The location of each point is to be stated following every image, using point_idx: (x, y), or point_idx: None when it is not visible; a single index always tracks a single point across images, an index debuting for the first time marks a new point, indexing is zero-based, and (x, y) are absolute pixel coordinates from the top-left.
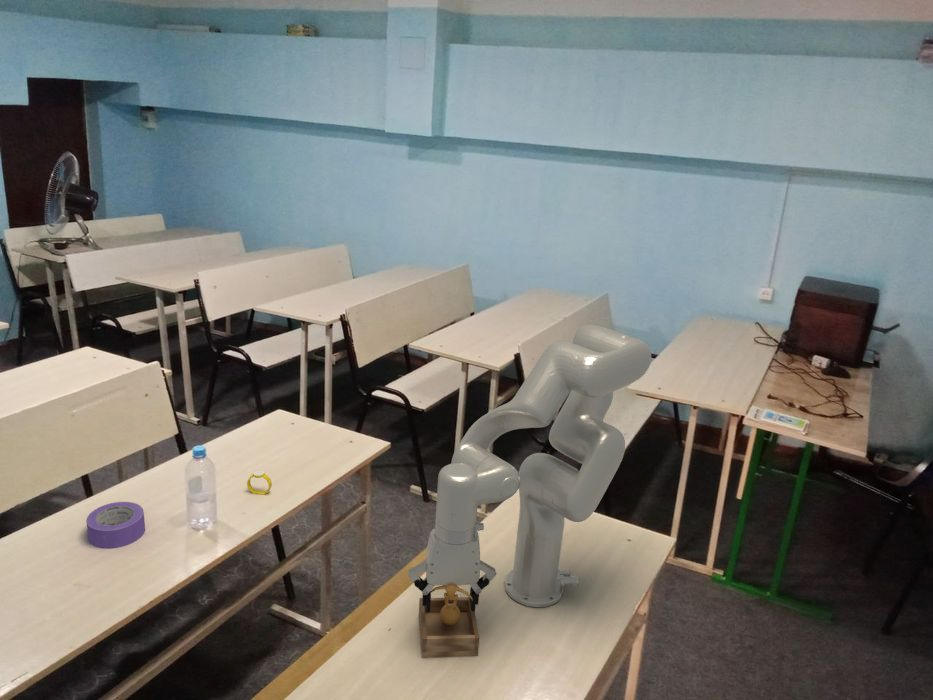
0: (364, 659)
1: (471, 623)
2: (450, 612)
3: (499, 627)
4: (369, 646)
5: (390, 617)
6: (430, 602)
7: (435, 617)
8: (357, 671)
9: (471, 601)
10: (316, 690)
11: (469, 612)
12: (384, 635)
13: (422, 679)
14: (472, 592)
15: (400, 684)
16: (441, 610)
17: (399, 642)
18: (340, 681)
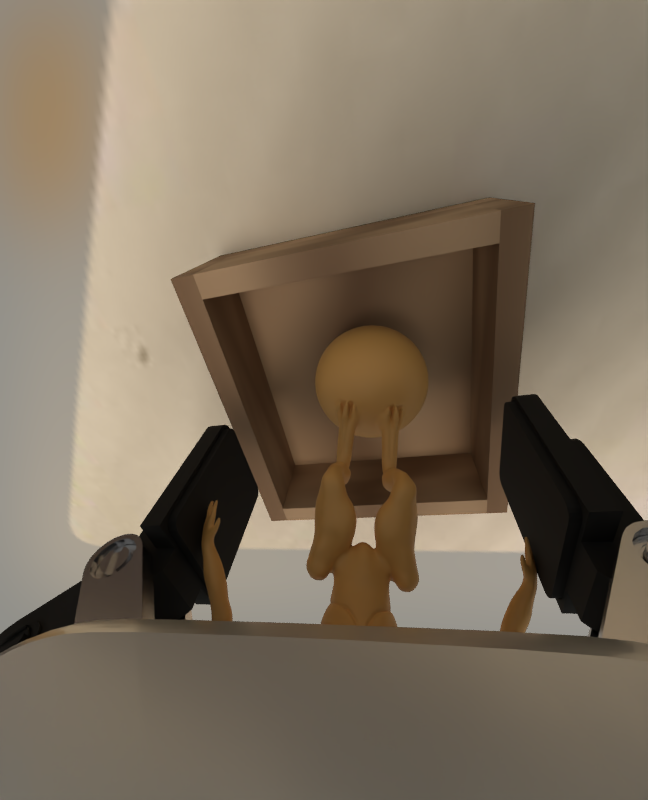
0: (137, 473)
1: (483, 397)
2: (370, 436)
3: (635, 283)
4: (123, 432)
5: (113, 289)
6: (237, 546)
7: (299, 303)
8: (142, 504)
9: (520, 513)
10: (92, 543)
11: (485, 313)
12: (141, 386)
13: (307, 521)
14: (558, 585)
15: (257, 532)
16: (318, 397)
17: (202, 411)
18: (122, 526)
